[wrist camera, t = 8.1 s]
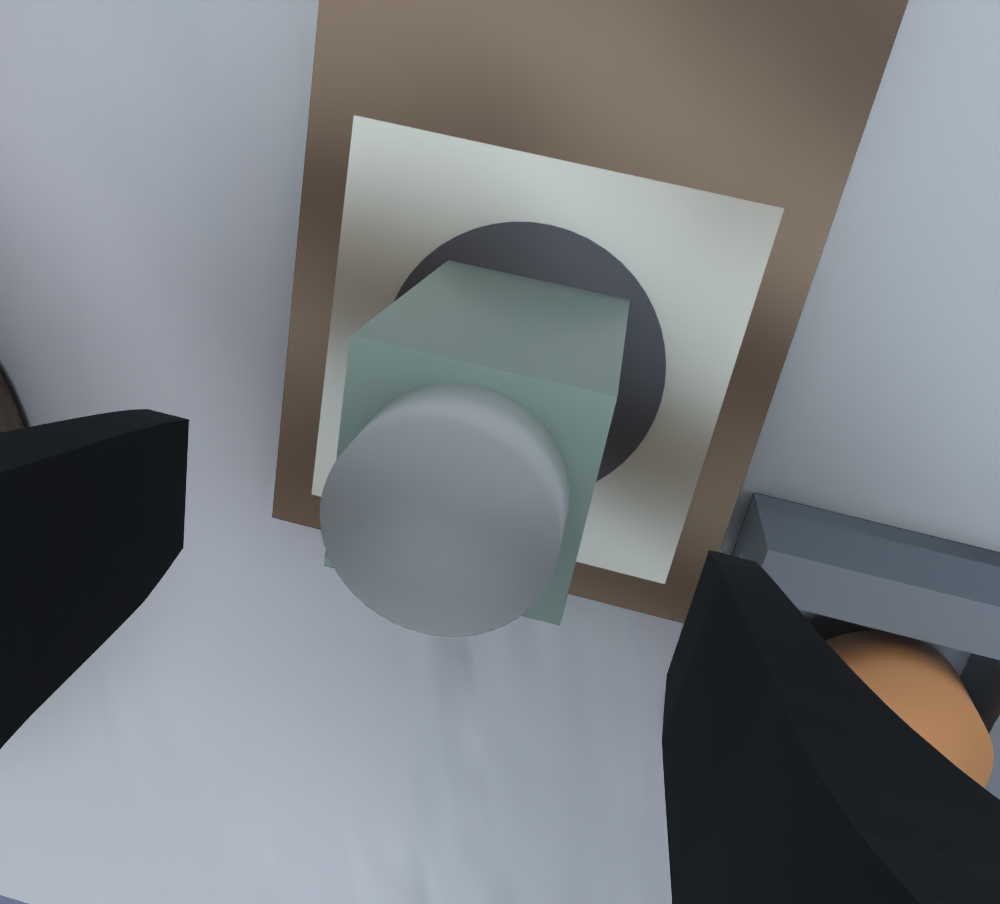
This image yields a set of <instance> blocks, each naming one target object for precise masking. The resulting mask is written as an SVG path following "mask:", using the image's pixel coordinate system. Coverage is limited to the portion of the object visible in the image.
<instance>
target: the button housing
mask: <svg viewBox="0 0 1000 904" xmlns="http://www.w3.org/2000/svg"><path fill="white" fill-rule="evenodd" d="M732 556H735V557H739V558H743V559H747V560H751V561H755V562H757V563H758V564H759V565H760V566H761V567H762V568H763V569H764V570H765V571H766V572H767V573H768V575H769V576H770V577H771V578H772V579H773V580H774V581H775V583H776V584H777V585H778V586H779V587H780V588H781V590H782V591H783V592H784V593H785V594H786V595H787V597H788V598H789V599H790V600H791V601H792V603H793V604H794V605H795V606H796V607H797V608H798V610H799V611H800V612H801V613H802V614H803V616H804V617H805V618H806V619H807V620H808V621H809V623H810V624H811V625H812V626H813V627H814V628H815V629H816V631H817V632H818V633H819V634H820V635H821V636H822V637H823V639H824V640H825V641H826V640H828V639H830V638H833V637H836V636H839V635H843V634H847V633H851V632H859V631H886V632H890V633H894V634H898V635H902V636H906V637H910V638H914V639H918V640H920V641H922V642H925V643H926V644H928V645H930V646H931V647H933V648H935V649H936V650H937V651H938V652H940V653H941V654H942V655H943V656H944V657H945V658H946V659H947V660H948V661H949V662H950V663H951V664H952V666H953V667H954V669H955V670H956V672H957V673H958V675H959V677H960V679H961V681H962V683H963V685H964V687H965V689H966V691H967V692H968V694H969V696H970V698H971V700H972V702H973V704H974V706H975V708H976V710H977V711H978V713H979V715H980V717H981V719H982V721H983V723H984V725H985V727H986V729H987V731H988V733H989V735H990V738H991V742H992V745H993V754H994V759H993V768H992V772H991V775H990V778H989V780H988V782H987V785H986V787H985V789H986V790H987V791H989V792H990V793H991V794H993V795H994V796H995V797H997V798H998V799H1000V553H998V552H994V551H990V550H985V549H981V548H977V547H973V546H969V545H965V544H961V543H957V542H953V541H949V540H944V539H940V538H936V537H932V536H928V535H924V534H920V533H916V532H912V531H908V530H903V529H899V528H895V527H891V526H887V525H883V524H879V523H875V522H871V521H867V520H862V519H858V518H854V517H850V516H846V515H842V514H838V513H834V512H830V511H826V510H821V509H817V508H813V507H809V506H805V505H801V504H797V503H793V502H789V501H784V500H780V499H776V498H772V497H768V496H764V495H760V494H756V493H754V495H753V498H752V501H751V504H750V506H749V509H748V512H747V515H746V518H745V521H744V523H743V526H742V529H741V532H740V535H739V538H738V541H737V543H736V546H735V549H734V552H733V555H732Z"/></svg>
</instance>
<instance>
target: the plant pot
mask: <svg viewBox="0 0 1000 904" xmlns="http://www.w3.org/2000/svg"><path fill="white" fill-rule="evenodd" d="M22 428H24V424H23V421H22V418H21V416H20V414H19V411H18V409H17V406H16V404H15V401H14V399H13V396H12V394H11V392H10V390H9V388H8V385H7V384H6V382H5V380H4V379H3V377H2V375H1V374H0V433H1V432H6V431H11V430H16V429H22Z"/></svg>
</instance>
